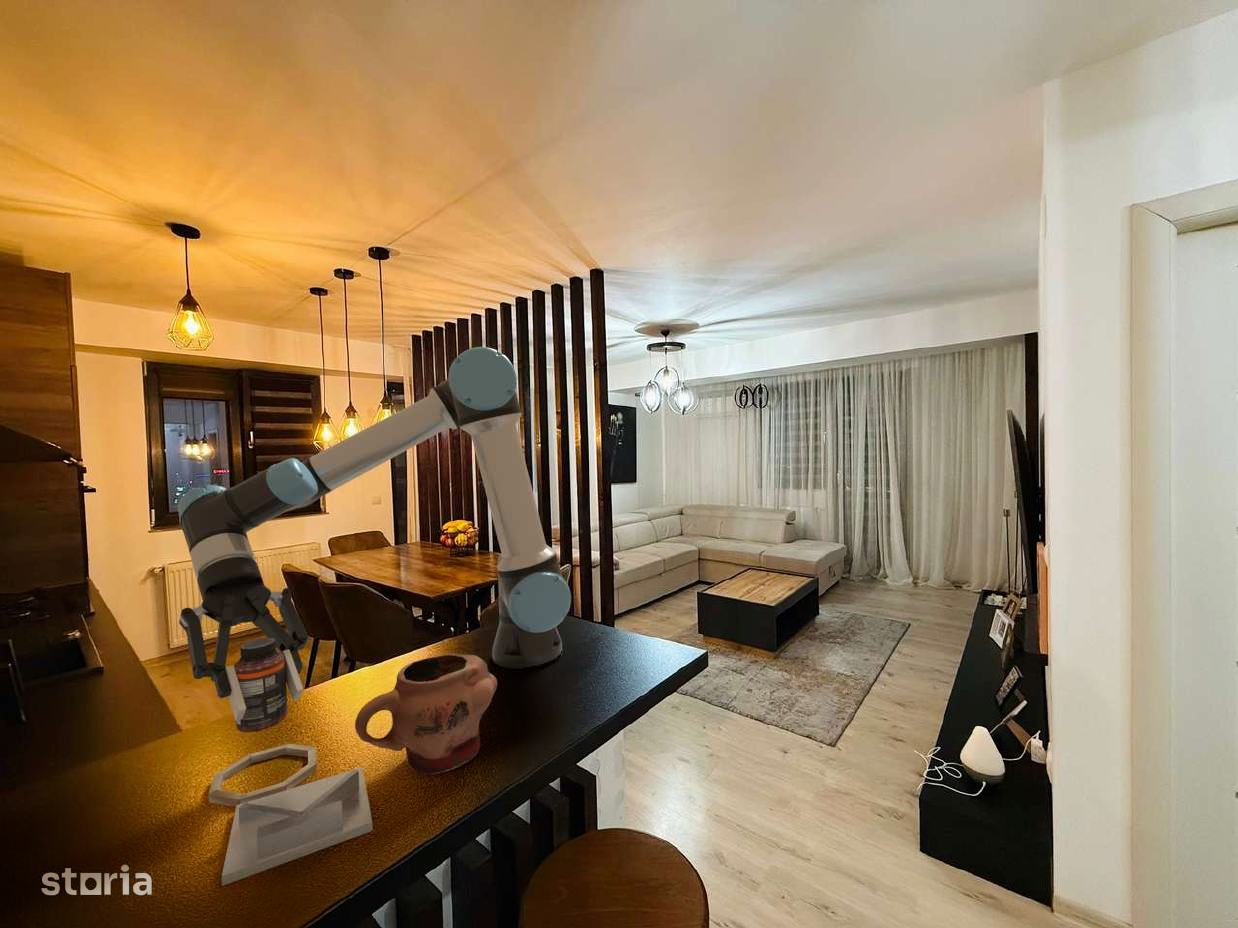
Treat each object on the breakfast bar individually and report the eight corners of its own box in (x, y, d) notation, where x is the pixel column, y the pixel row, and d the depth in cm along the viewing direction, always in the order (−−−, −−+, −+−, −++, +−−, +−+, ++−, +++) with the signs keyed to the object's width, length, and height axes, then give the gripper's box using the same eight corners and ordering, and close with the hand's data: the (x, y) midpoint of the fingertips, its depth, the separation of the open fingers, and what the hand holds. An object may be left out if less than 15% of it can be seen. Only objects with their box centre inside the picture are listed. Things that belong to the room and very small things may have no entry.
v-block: (236, 813, 63) (235, 785, 63) (362, 773, 71) (361, 748, 71) (222, 885, 52) (220, 851, 52) (372, 830, 60) (371, 800, 60)
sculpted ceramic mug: (381, 819, 61) (376, 704, 61) (342, 779, 70) (338, 678, 70) (516, 746, 76) (513, 654, 76) (471, 720, 84) (469, 637, 84)
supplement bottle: (257, 712, 74) (253, 635, 74) (297, 711, 74) (294, 633, 74) (224, 735, 68) (220, 650, 68) (268, 734, 68) (264, 649, 68)
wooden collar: (315, 742, 79) (315, 736, 79) (317, 783, 69) (316, 775, 69) (218, 769, 73) (218, 762, 73) (203, 818, 63) (203, 810, 63)
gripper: (290, 573, 88) (337, 691, 78) (141, 600, 73) (175, 751, 63) (301, 544, 84) (351, 664, 74) (147, 566, 69) (183, 720, 59)
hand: (270, 704), depth 69 cm, fingers closed on supplement bottle, 6 cm apart
